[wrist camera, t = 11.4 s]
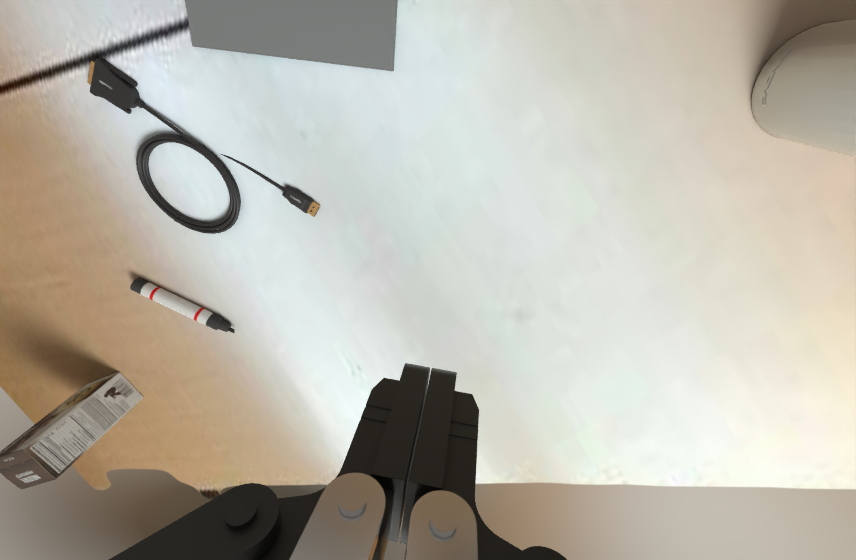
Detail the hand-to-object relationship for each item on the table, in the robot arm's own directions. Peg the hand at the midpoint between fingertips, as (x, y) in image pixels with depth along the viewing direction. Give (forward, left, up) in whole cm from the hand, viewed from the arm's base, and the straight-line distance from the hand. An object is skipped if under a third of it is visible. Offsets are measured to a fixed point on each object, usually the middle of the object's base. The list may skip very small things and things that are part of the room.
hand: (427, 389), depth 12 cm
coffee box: (+56, +48, -35) cm, 82 cm away
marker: (+38, +27, -36) cm, 58 cm away
